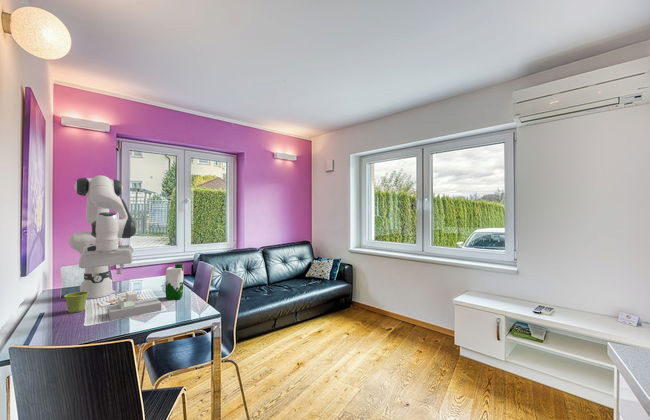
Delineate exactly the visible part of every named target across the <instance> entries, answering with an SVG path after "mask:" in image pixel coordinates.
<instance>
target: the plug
mask: <svg viewBox="0 0 650 420" xmlns="http://www.w3.org/2000/svg"><path fill="white" fill-rule="evenodd" d="M125 299H126V301H132V302H133V301H137V300H138V299H137V292H136V291H135V290H134V289H133V290H132V289H131V290H126V291H125Z"/></svg>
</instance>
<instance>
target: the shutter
mask: <svg viewBox="0 0 650 420" xmlns="http://www.w3.org/2000/svg"><path fill="white" fill-rule="evenodd" d="M123 299H124V298H123V297H122V296H118V299H117V300H118V303H117V304H118V305H119V307H120V308H121V309H126V308H132V307H135V304H134V303H133V302H132V301H126V302H124V300H123Z"/></svg>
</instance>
